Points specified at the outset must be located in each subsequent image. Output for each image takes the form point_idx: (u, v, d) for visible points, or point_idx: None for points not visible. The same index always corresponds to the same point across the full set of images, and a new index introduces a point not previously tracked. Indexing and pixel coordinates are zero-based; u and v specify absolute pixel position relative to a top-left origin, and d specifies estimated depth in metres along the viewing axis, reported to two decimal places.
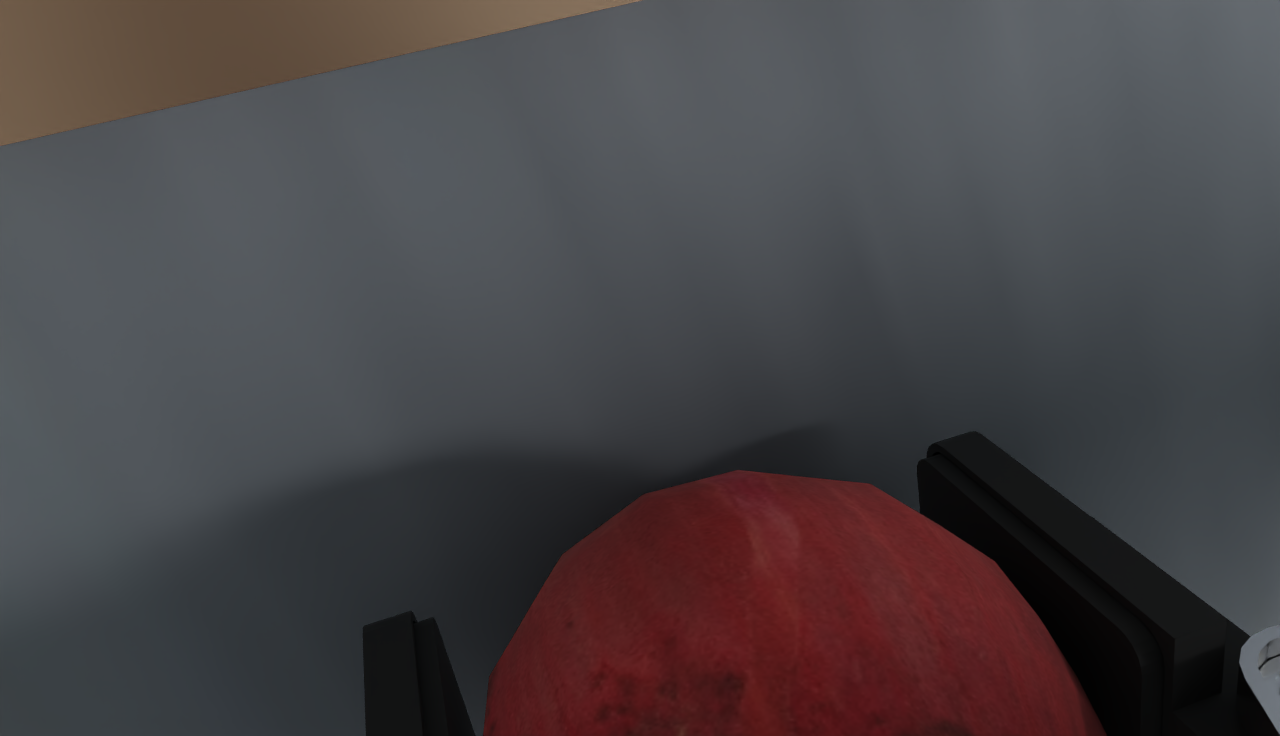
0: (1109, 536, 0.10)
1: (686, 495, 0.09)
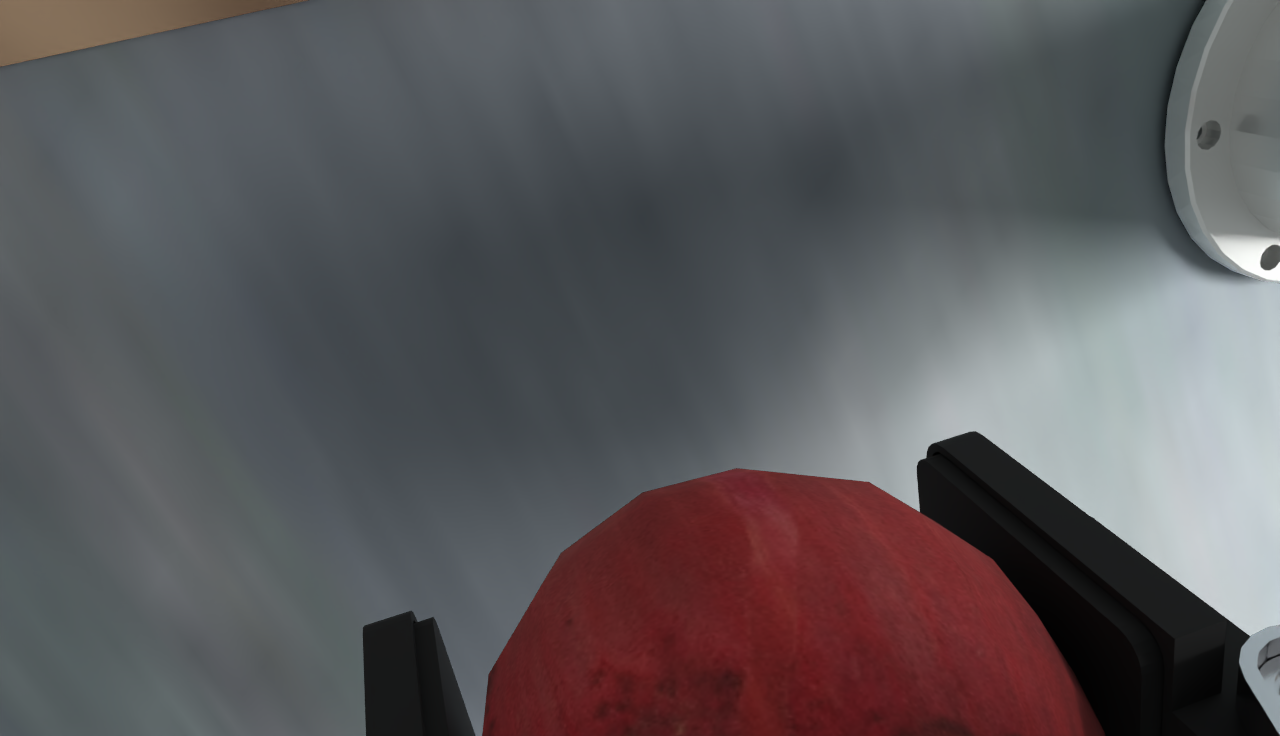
0: (1108, 536, 0.10)
1: (685, 493, 0.09)
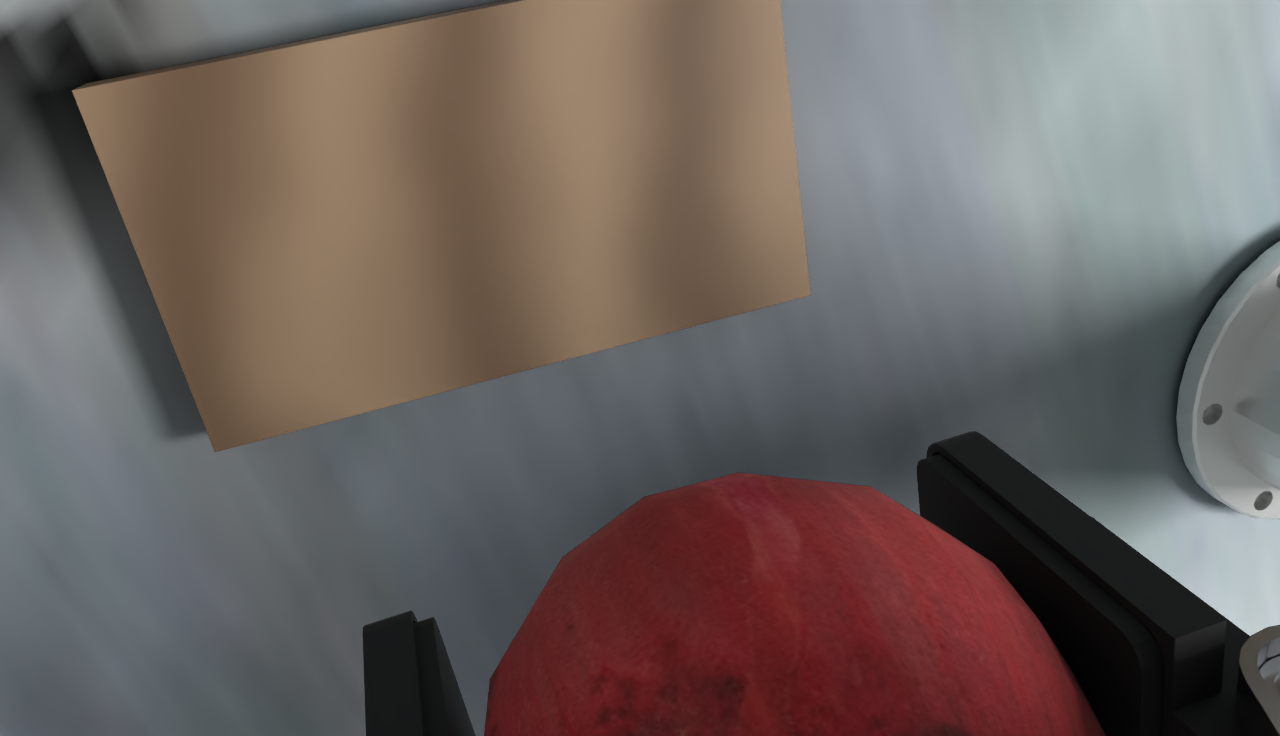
0: (1109, 536, 0.10)
1: (686, 498, 0.09)
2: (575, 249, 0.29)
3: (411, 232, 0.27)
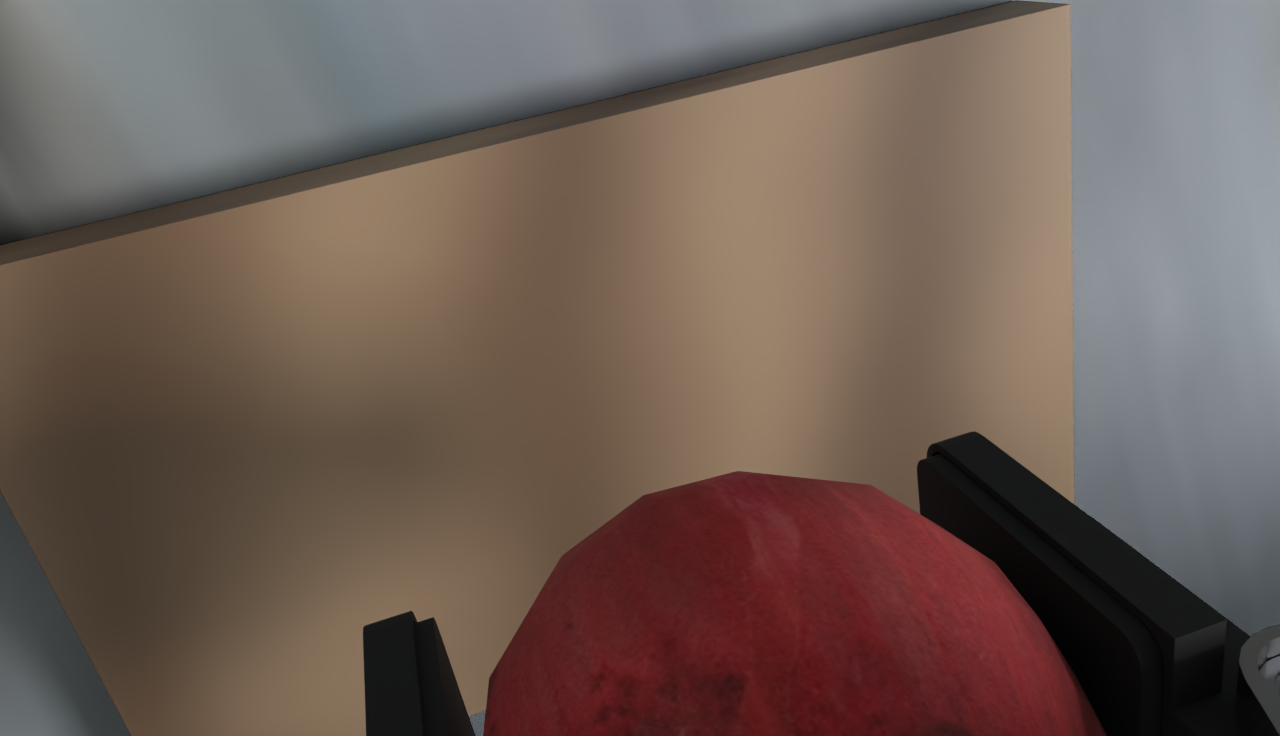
0: (1109, 536, 0.10)
1: (686, 496, 0.09)
2: None
3: (481, 473, 0.17)
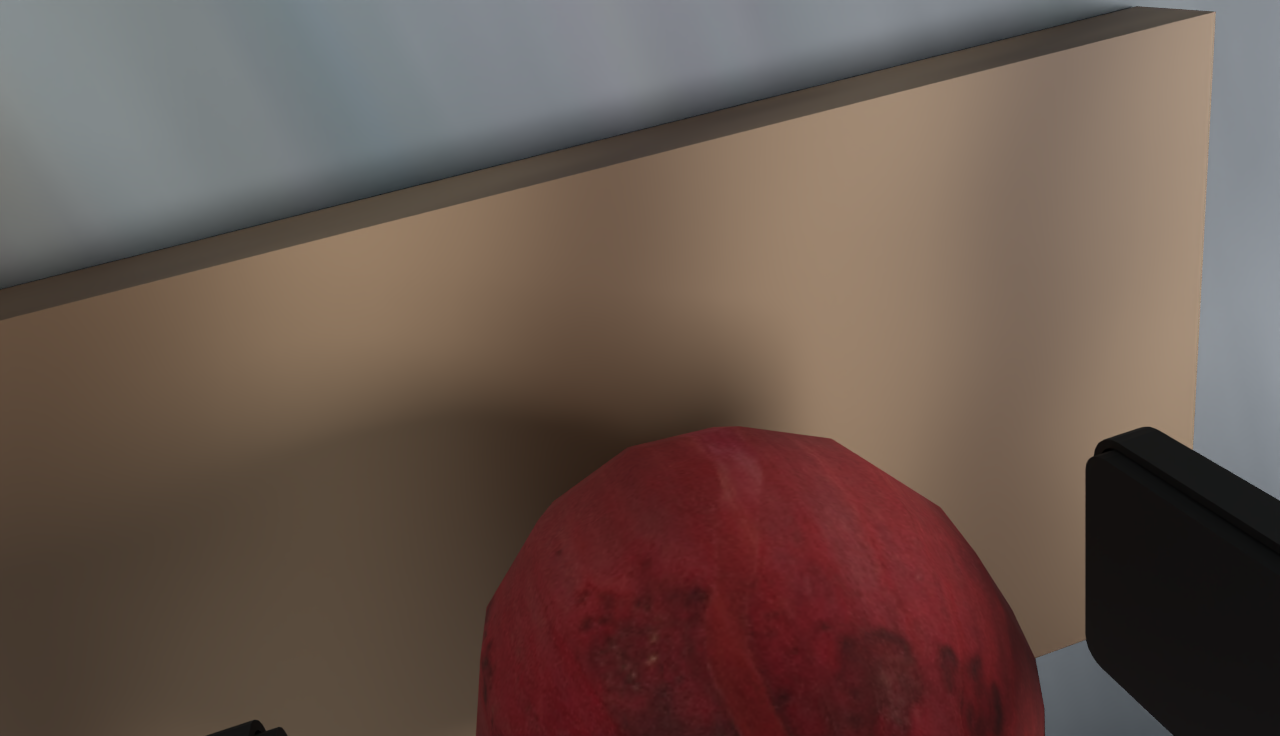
0: None
1: (665, 444, 0.11)
2: None
3: (497, 584, 0.14)
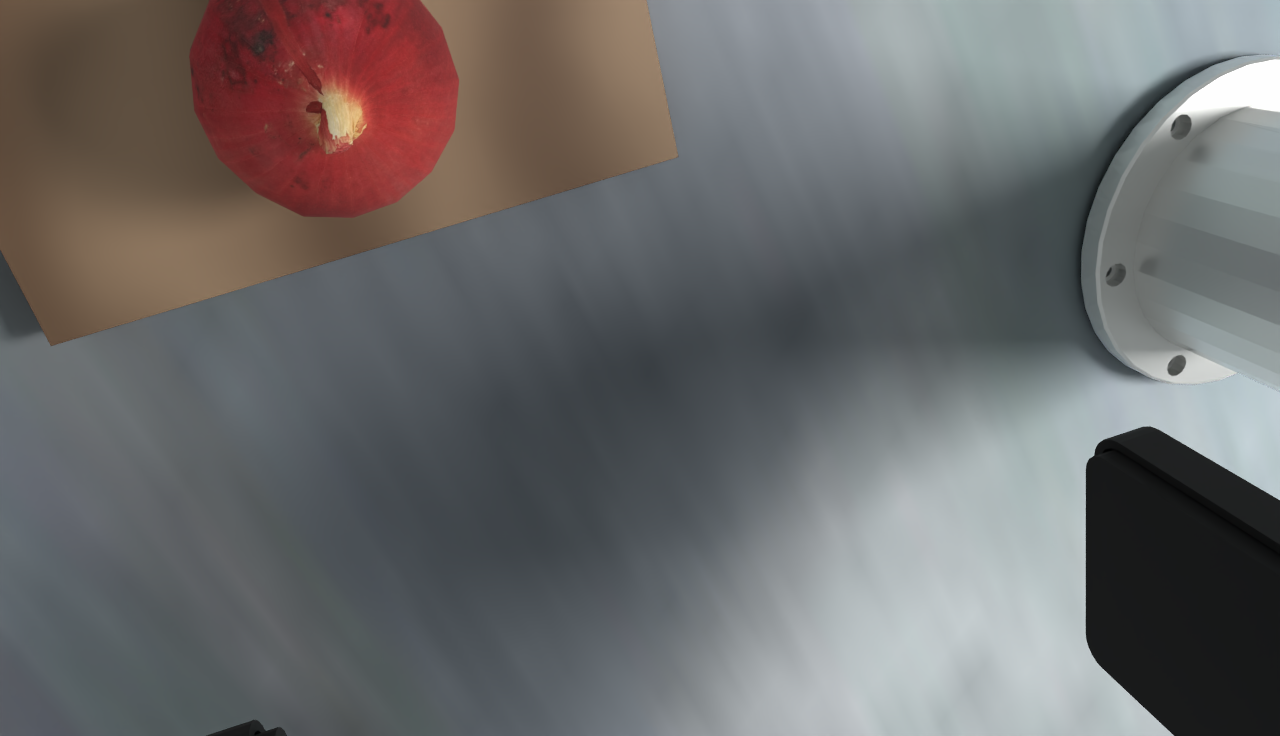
0: None
1: None
2: None
3: None
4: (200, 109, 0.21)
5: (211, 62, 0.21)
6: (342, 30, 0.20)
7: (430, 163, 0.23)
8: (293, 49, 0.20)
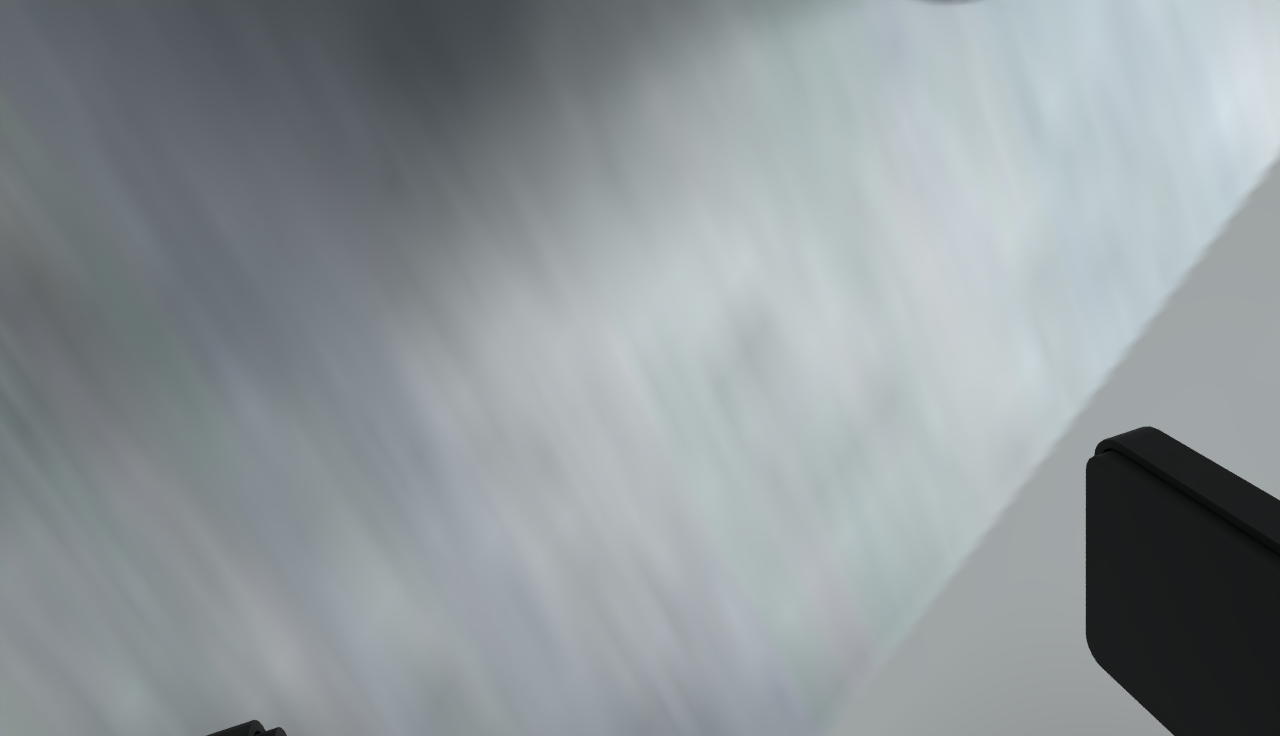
0: None
1: None
2: None
3: None
4: None
5: None
6: None
7: None
8: None
